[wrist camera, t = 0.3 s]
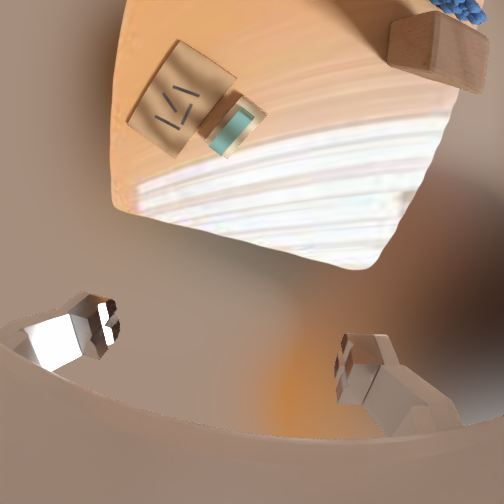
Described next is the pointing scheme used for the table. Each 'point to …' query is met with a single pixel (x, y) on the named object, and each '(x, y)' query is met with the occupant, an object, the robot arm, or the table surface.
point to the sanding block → (235, 127)
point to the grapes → (462, 10)
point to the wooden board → (180, 98)
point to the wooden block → (439, 50)
